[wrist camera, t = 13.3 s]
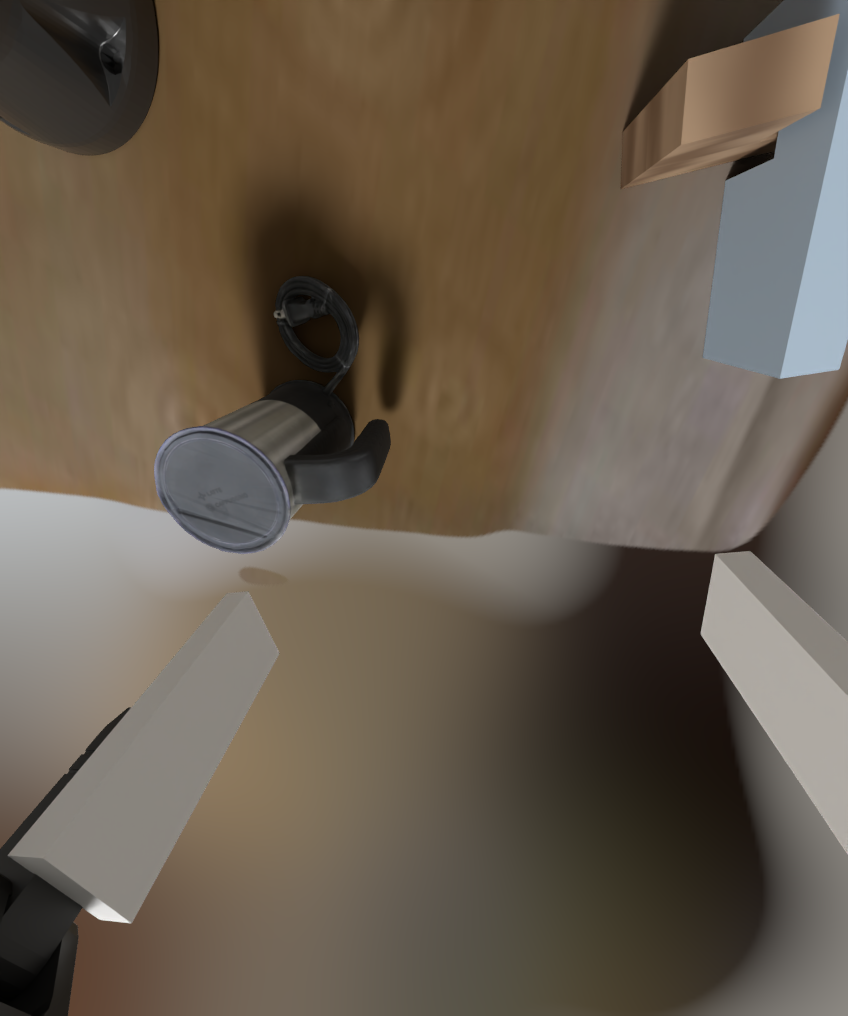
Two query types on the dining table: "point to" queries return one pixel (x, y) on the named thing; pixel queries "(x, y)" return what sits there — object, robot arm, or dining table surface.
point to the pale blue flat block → (788, 233)
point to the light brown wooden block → (729, 103)
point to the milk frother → (274, 444)
